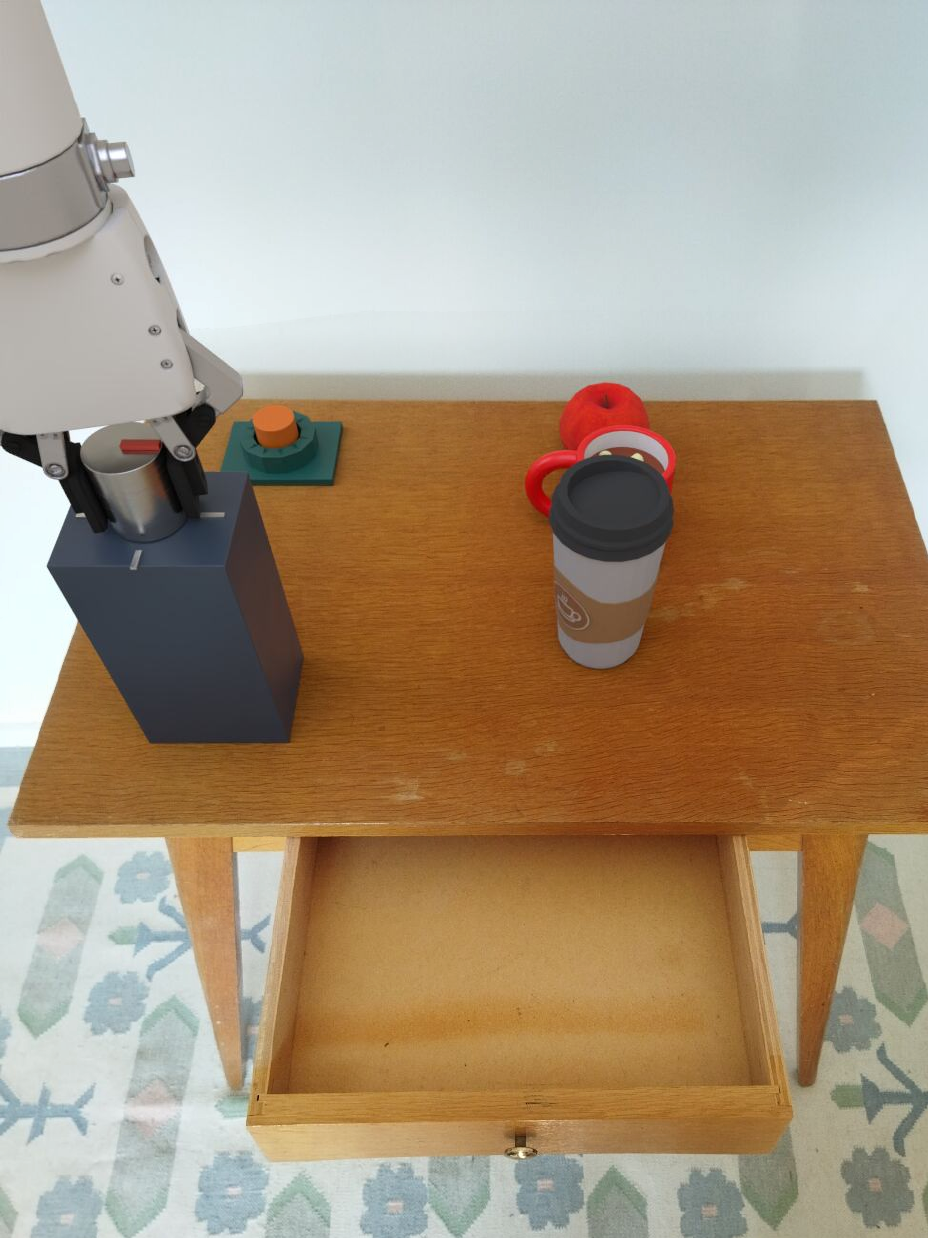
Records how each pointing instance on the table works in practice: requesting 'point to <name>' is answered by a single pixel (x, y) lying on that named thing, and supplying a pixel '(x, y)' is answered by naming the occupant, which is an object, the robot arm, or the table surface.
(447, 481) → the table surface
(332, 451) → the push button base
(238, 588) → the tall knob tower
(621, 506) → the coffee cup
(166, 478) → the dial
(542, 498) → the mug
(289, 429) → the button
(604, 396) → the apple
